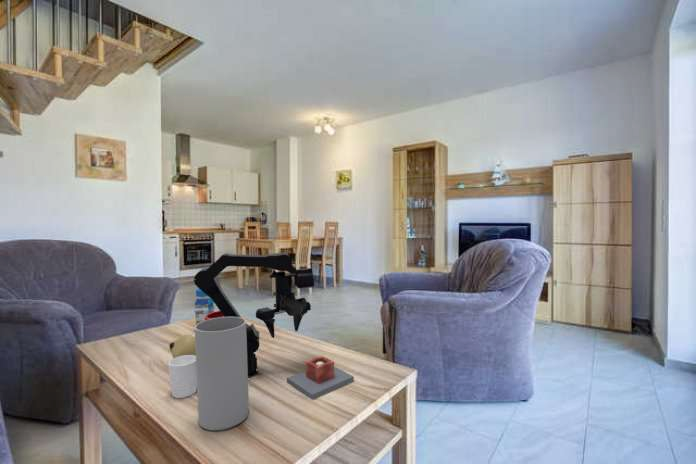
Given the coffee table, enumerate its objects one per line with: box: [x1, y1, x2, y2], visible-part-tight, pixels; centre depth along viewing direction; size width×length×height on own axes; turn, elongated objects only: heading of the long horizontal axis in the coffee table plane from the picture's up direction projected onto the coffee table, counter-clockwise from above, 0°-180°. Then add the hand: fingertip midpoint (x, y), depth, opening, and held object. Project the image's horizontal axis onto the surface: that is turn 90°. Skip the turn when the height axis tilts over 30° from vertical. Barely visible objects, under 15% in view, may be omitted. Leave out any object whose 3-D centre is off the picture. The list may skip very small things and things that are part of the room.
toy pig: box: [168, 334, 196, 359], centre depth 124 cm, size 10×12×11 cm
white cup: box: [167, 355, 197, 399], centre depth 103 cm, size 8×8×10 cm
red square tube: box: [305, 355, 335, 384], centre depth 108 cm, size 6×6×5 cm
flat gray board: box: [286, 362, 355, 401], centre depth 108 cm, size 16×14×6 cm
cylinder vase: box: [194, 317, 250, 431], centre depth 89 cm, size 12×12×25 cm
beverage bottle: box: [194, 288, 215, 326], centre depth 158 cm, size 8×8×20 cm
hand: (284, 334), depth 117 cm, fingers open, 9 cm apart
